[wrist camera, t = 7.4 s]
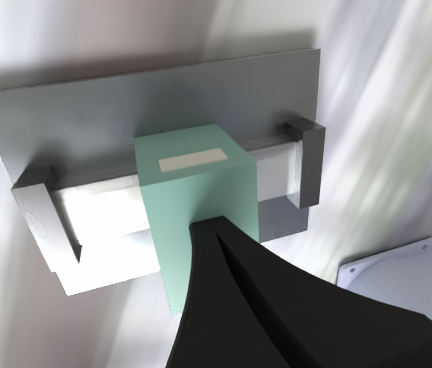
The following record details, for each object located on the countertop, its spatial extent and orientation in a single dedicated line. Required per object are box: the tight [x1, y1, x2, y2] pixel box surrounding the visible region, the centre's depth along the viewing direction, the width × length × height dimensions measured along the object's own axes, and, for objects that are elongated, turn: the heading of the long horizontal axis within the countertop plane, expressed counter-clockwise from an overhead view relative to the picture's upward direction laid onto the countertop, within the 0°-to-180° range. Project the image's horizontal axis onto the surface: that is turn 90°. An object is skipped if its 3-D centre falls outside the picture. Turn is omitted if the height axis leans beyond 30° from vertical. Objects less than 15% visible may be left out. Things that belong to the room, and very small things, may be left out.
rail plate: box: [0, 48, 326, 295], centre depth 15 cm, size 15×11×3 cm
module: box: [133, 123, 259, 315], centre depth 13 cm, size 4×6×5 cm, turn 5°
